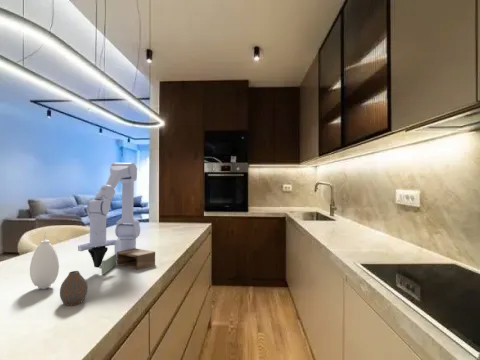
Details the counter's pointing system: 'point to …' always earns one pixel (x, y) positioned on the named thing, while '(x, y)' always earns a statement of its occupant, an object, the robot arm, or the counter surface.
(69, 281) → the vase
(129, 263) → the brown wooden box
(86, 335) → the counter surface
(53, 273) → the white tall ovoid
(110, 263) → the door
